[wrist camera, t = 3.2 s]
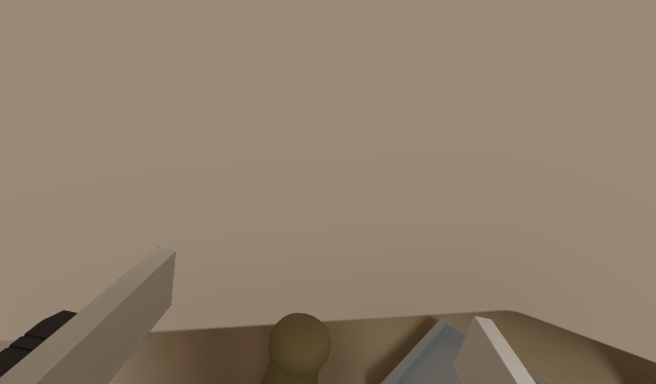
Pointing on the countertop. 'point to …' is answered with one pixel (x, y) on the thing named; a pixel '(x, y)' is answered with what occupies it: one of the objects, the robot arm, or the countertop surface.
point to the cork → (297, 350)
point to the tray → (434, 358)
